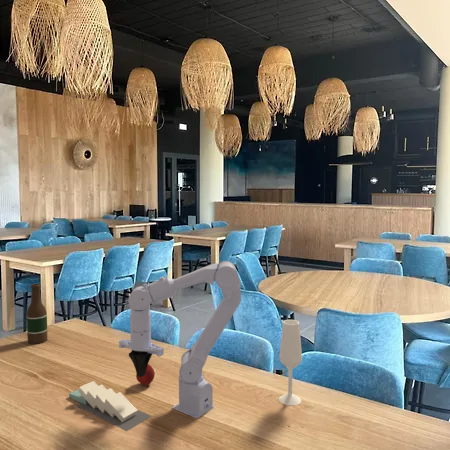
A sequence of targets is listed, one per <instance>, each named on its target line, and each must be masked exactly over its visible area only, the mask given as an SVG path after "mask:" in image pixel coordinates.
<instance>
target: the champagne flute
mask: <svg viewBox="0 0 450 450" xmlns="http://www.w3.org/2000/svg"><path fill="white" fill-rule="evenodd" d="M281 328H282V329H281V339H280V346H279V347H280V348H279V356H278V358H279V361H280V362H281V364H282V365H283V366H284V367H285V368H286V369H288V377H287V379H288V382H287V383H288V385H287V393H285V394H282V395H281V396H280V397H279V398H278V401H279V402H280V404H283V405H286V406H297V405H300V404H301V402H302V399H301V398H300V397H299V396H297V395H296V394H294V393H293V369H295V368H297V367H298V366H299V365H300V364H301V363H302V360H303V355H302V353H303V352H302V340H301V329H300V322H299V321H298V320H297V319H285V320H283V321H282V327H281Z"/></svg>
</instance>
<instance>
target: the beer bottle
mask: <svg viewBox="0 0 450 450" xmlns="http://www.w3.org/2000/svg"><path fill="white" fill-rule="evenodd" d="M41 287H42V286H41V284H40V283H33V284H30V288H31V296H30V297H31V298H30V299H31V300H30V305H29V306H28V307H27V309H26V332H27V334H26V335H27V336H26V337H27V342H28V344H29V345H38V344H44V343H45V342H47V341H48V315H47V309H46V307H45V305H44V304H43V302H42V297H41V296H42V295H41Z"/></svg>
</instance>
